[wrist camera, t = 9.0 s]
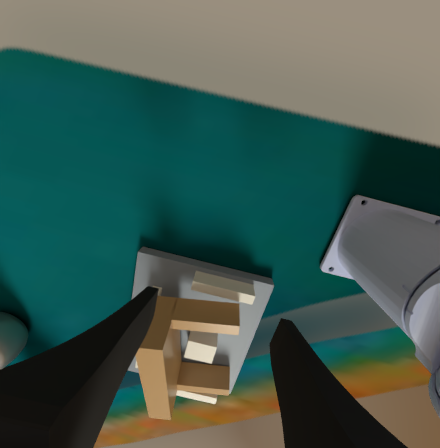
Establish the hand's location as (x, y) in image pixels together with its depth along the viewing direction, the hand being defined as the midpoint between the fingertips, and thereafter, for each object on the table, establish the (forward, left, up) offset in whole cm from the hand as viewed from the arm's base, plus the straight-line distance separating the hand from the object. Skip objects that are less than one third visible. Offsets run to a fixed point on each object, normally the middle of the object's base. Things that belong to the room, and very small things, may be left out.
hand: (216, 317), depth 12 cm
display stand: (+1, +11, -10) cm, 15 cm away
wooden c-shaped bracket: (0, +11, -8) cm, 13 cm away
